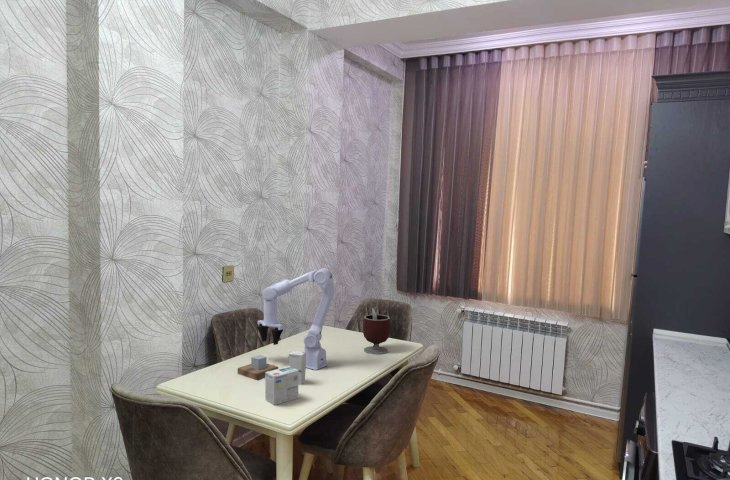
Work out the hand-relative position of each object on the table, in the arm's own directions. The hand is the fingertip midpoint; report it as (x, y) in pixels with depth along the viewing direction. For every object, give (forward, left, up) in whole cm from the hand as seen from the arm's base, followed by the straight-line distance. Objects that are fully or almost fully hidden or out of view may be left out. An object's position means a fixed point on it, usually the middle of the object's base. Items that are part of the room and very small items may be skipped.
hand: (269, 342), depth 215 cm
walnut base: (-6, +12, -10) cm, 17 cm away
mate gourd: (-25, -48, -10) cm, 55 cm away
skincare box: (-26, +9, -10) cm, 29 cm away
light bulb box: (-34, +25, -10) cm, 43 cm away
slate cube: (-6, +12, -7) cm, 15 cm away
